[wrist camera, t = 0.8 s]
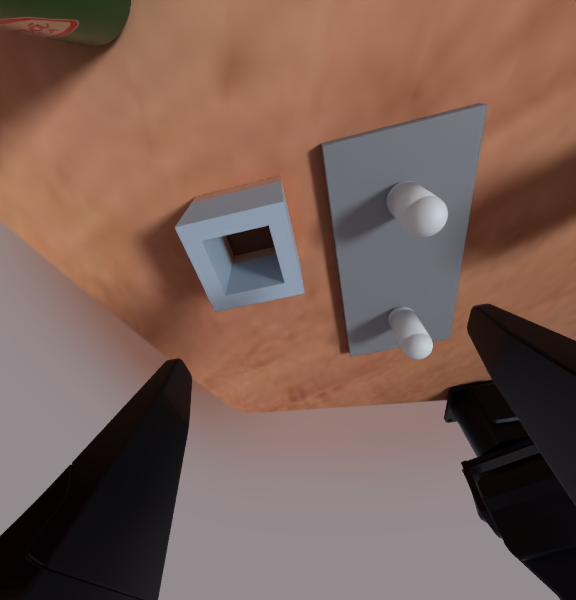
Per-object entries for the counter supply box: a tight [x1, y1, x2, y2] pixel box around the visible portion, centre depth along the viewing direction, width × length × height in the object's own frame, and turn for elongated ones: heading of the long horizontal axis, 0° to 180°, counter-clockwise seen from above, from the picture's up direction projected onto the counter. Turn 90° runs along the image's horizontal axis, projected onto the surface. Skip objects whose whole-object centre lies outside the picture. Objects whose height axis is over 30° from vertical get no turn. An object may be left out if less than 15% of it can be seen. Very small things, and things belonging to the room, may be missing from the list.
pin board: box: [321, 103, 487, 359], centre depth 20 cm, size 18×9×5 cm, turn 12°
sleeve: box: [175, 176, 305, 312], centre depth 18 cm, size 6×6×5 cm
